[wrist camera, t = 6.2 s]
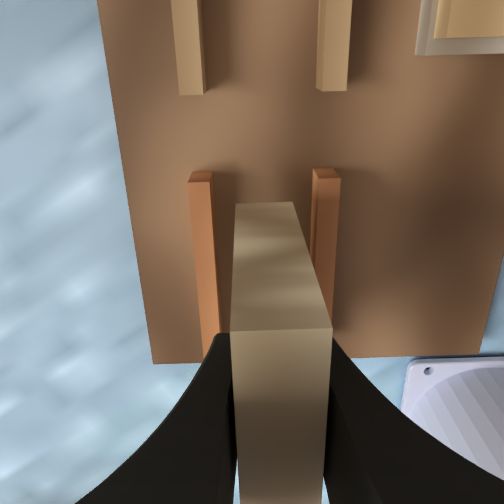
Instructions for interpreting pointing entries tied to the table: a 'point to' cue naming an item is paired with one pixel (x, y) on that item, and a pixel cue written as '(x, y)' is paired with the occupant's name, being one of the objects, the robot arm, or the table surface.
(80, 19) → the table surface
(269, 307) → the birch board
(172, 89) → the rack
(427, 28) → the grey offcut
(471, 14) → the oak offcut
